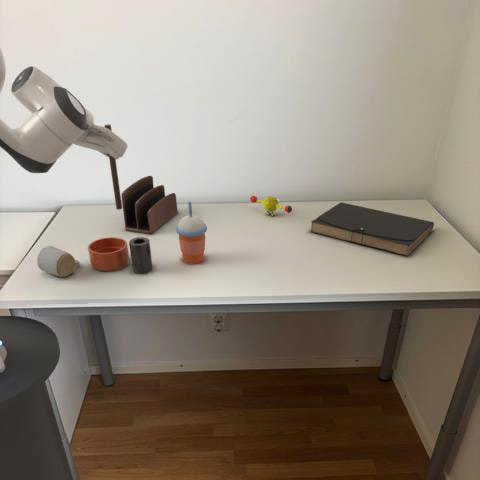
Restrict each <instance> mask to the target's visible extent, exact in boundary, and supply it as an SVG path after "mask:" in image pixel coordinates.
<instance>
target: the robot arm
mask: <svg viewBox="0 0 480 480" xmlns="http://www.w3.org/2000/svg"><path fill="white" fill-rule="evenodd" d="M6 71H7V70H6V60H5V57H4V53H3V51H2V49H1V48H0V93H1V92H2V90H3V88H4V86H5V81H6V74H7V73H6ZM10 88H11V89H10V91H11V94H12V95H13V96H14V98H15V99H16V100H17V101H19V103H20V104H22V106H24V107H25V108H26V109H27V110H28V111H29V112H30V113H31V115H30V116H29V117H28V118H27V119H26V120H25V121H24V122H23V123H22V124H21V125H20V126H18V127H16V128H12V127H10V126H9V125H8V124H7V123H6V122H5V121H4V120H3V119H2V118H0V148H1V149H2V150H3V151H4V152H6V153H7V154H8V156H10V157H11V158H12V159H13V160H14V161H15V162H16V163H17V164H18V165H19V166H20V167H21V168H23V169H24V170H25V171H27V172H28V173H31V174H46V173H48V172H49V171H50V170H51V169H52V168H53V166H54V165H55V163H56V162H57V161H58V160H59V159H60V158H61V157H62V155H64V154H65V153H66V151H68V150H69V149H70V148H71V147H72V146H73V145H76V146H78V147H83V148H86V149H90V150H93V151H97V152H99V154H102V155H103V156H105V157H106V158H109V154H110V156H111V157H112V158H113V159H116V161H117V160H119V159H120V158H122V157H124V155H125V154H126V151H127V149H128V148H129V147H128V144H127V142H126V141H125V140H123V139H122V138H121V137H120V136H119V135H117V134H116V133H115V132H114V131H113V130H112V131H111V130H109V129H107V128H105V126H101V125H97V124H95V118H94V115H93V113H92V112H91V111H90V110H88V109H87V108H86V107H85V106H84V105H83V104H82V103H81V101H80V100H79V99H78V98H77V96H75V95H74V94H73V93H71V92H70V91H69V90H68V89H67V88H65V87H63V86H62V85H61V84H59V83H58V82H57V81H56V80H55V79H54V78H52V77H50V75H48V74H47V73H45V72H44V71H43V70H41V69H39V68H37V67H36V66H32V65H31V66H28V67H26V68H24V69H23V70H22V71H21V72H20V73H19V74H18V75H17V76H16V77H15V78H14V80H13V82H12V84H11V87H10ZM6 355H7V350H6V348H5V347H4V346H3V344H2V342H1V341H0V373H1V372H3V371H4V370H5V364H4V361H5V358H6Z"/></svg>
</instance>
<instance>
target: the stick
mask: <svg viewBox="0 0 480 480" xmlns="http://www.w3.org/2000/svg"><path fill="white" fill-rule="evenodd" d="M103 127H105V128H107V129H109V130H111V131H112V132H113V129H112V125H111V124H110V123H109V124H108V123H106V124H104V126H103ZM108 159H109V160H108V161H109V167H110V172H111V180H112V189H113V195H114V201H115V202H114V203H115V208H116V210H123V206H122V194H121V188H120V181H119V175H118V168H117V159H113V158H112V157H111V156H110V154H109V157H108Z"/></svg>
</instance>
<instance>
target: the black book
mask: <svg viewBox="0 0 480 480" xmlns="http://www.w3.org/2000/svg"><path fill="white" fill-rule="evenodd" d="M310 223H311V224H310V233H313V234H318V235H321V236H325V237H330V238H333V239H337V240H341V241H344V242H349V243H351V244H352V243H353V244H357V245H361V246H364V247H367V248H368V247H369V248H373V249H376V250H381V251H384V252H388V253H393V254H397V255H401V256H405V257H409V255H410V254H411V253H412V252H413V251H414V250H415V249H417V247H418V246H419V245H420V244H421V243H422V242H423V241H424V240H425V239H426V238H427V237H428V236H429V235H430V234H431V233H432V231H433V229H434V226H435V222H434V221H429V220H425V219H422V218H416V217H412V216H406V215H403V214H397V213H394V212H393V213H392V212H389V211H384V210H379V209H374V208H370V207H364V206H360V205H356V204H351V203H347V202H343V201H342V202H341V201H340V202H339V203H338V204H336V205H333V206H332V207H331V208H330V209H328V210H326V211H324V212H323V213H321V214H320V215H318V216H317V217H316V218H315V219H313V220H311V221H310Z"/></svg>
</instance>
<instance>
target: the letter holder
mask: <svg viewBox="0 0 480 480" xmlns="http://www.w3.org/2000/svg"><path fill="white" fill-rule="evenodd" d="M154 186H155V185H154V177H153V176H152V175H146V176H144V177H142V178H139V179H138V180H136V181H135V182H133V183H132V184H130V185H129V186H128V187H127V188H125V189H124V190H123V191H122V193H121V202H122V212H123V221H124V228H125V229H124V230H125V231H128V232H136V233H141V234H146V235H147V234H148V235H151V234H153V233H154V232H156V231H157V230H158V229H159V228H161V227H162V226H163V225H164V224H166V223H167V222H169V220H171V219H172V218H173V217H175V216H176V215H177V214H179V211H178V201H177V194H176V193H175V192H171V193H169V194H167V195H166V189H165V185H164V184H161V185H157V186H155V187H154Z"/></svg>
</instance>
